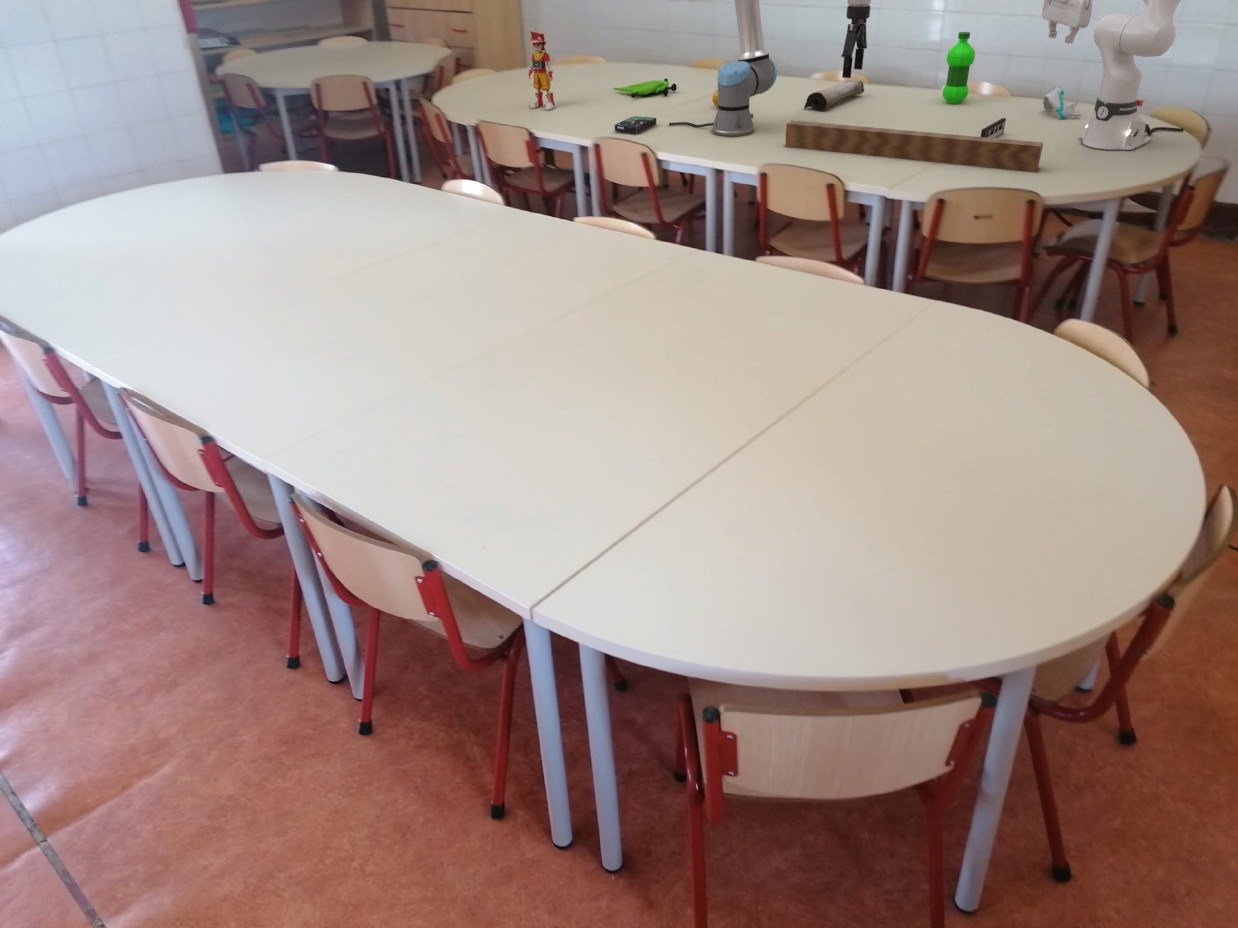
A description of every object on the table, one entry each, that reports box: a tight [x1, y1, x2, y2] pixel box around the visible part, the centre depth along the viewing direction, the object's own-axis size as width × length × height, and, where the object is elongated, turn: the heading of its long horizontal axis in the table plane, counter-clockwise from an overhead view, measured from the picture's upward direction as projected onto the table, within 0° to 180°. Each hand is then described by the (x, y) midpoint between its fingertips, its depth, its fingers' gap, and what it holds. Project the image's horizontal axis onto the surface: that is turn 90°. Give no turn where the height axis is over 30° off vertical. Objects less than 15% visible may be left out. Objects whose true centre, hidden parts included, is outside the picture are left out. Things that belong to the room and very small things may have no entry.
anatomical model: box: [1042, 87, 1082, 119], centre depth 330 cm, size 15×10×10 cm
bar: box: [784, 120, 1044, 173], centre depth 298 cm, size 83×5×8 cm, turn 59°
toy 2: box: [612, 78, 677, 99], centre depth 396 cm, size 28×5×30 cm
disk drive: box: [614, 115, 657, 135], centre depth 346 cm, size 10×3×15 cm
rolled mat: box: [803, 79, 865, 112], centre depth 362 cm, size 30×9×10 cm
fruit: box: [712, 89, 718, 108], centre depth 365 cm, size 8×8×8 cm
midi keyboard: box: [980, 117, 1007, 138], centre depth 310 cm, size 18×1×5 cm, turn 138°
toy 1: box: [527, 31, 556, 111], centre depth 374 cm, size 12×9×30 cm
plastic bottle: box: [942, 31, 976, 104], centre depth 348 cm, size 10×10×25 cm
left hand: (852, 73), depth 309 cm, fingers open, 13 cm apart
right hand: (1060, 40), depth 266 cm, fingers open, 8 cm apart
